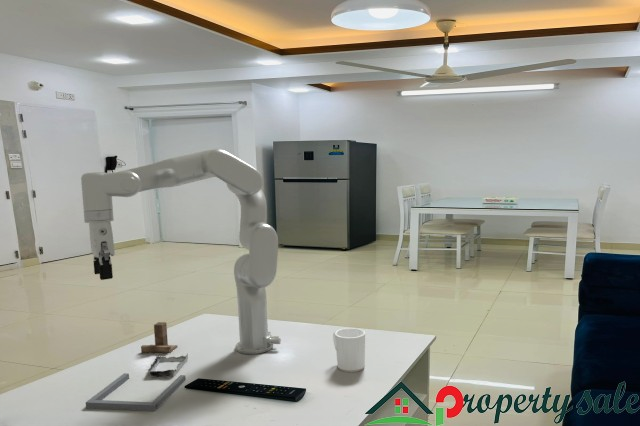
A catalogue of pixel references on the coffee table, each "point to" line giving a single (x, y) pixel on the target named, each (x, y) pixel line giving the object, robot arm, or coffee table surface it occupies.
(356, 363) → the mug
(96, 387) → the coffee table surface
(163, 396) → the bay
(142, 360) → the coffee table surface
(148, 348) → the tan l-shaped bracket
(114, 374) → the coffee table surface
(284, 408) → the coffee table surface
